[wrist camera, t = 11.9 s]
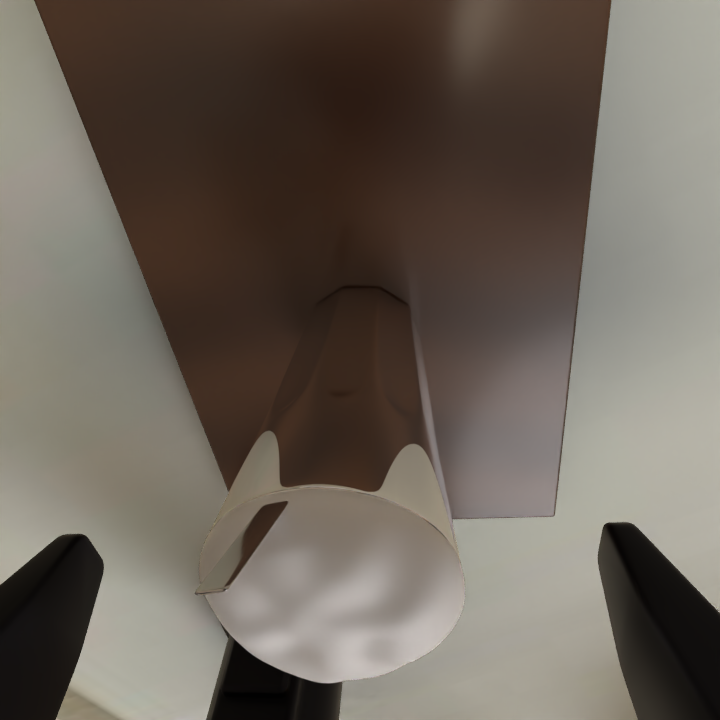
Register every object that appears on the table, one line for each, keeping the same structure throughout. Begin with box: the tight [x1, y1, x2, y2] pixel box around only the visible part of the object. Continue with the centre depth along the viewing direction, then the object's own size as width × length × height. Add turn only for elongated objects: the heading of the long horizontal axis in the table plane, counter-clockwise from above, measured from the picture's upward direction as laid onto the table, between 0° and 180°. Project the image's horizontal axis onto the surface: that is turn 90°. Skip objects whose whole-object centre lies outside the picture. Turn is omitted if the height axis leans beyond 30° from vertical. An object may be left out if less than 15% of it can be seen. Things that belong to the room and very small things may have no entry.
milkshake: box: [195, 288, 465, 683], centre depth 12 cm, size 4×5×10 cm
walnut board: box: [34, 0, 611, 519], centre depth 16 cm, size 18×12×1 cm, turn 8°
